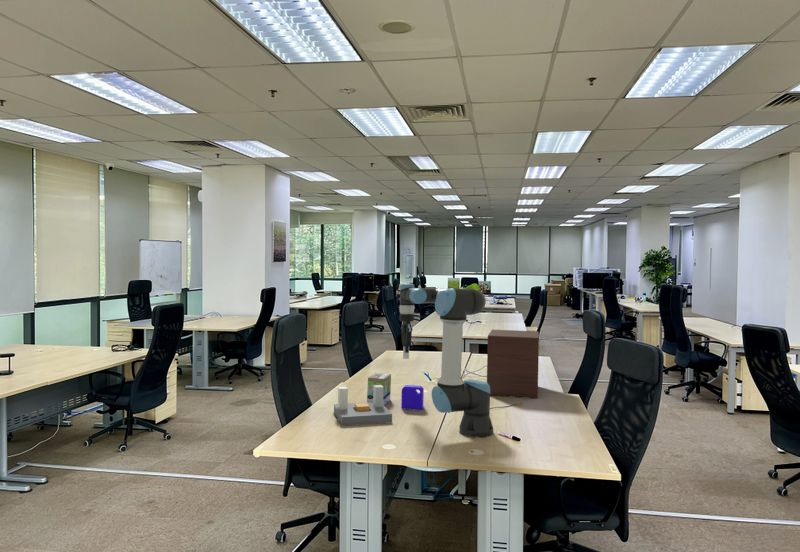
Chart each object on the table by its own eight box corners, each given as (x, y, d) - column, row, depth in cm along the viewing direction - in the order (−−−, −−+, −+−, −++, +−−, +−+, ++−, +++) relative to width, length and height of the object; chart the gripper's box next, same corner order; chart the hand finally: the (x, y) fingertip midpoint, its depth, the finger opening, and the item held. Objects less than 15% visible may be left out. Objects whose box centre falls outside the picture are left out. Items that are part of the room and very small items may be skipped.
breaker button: (369, 416, 257) (369, 406, 257) (357, 417, 256) (357, 406, 256) (366, 413, 263) (366, 403, 263) (354, 413, 261) (355, 403, 261)
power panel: (392, 422, 251) (392, 414, 251) (341, 425, 245) (341, 417, 244) (380, 409, 274) (380, 401, 274) (333, 412, 268) (334, 404, 268)
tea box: (384, 406, 281) (385, 378, 281) (366, 405, 283) (366, 377, 283) (390, 399, 296) (391, 373, 296) (373, 398, 298) (373, 372, 298)
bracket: (421, 410, 275) (422, 387, 274) (401, 408, 277) (401, 386, 277) (427, 402, 292) (427, 380, 292) (407, 400, 294) (408, 379, 294)
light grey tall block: (383, 407, 264) (383, 387, 264) (375, 407, 263) (375, 387, 263) (380, 404, 269) (381, 384, 268) (373, 405, 267) (373, 385, 267)
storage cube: (537, 399, 303) (538, 337, 303) (486, 395, 310) (487, 335, 310) (537, 386, 337) (538, 331, 337) (491, 383, 344) (492, 329, 344)
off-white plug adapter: (347, 409, 259) (347, 388, 259) (339, 409, 258) (339, 389, 258) (345, 406, 264) (346, 386, 264) (337, 406, 263) (338, 386, 262)
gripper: (417, 314, 270) (416, 360, 270) (410, 312, 283) (409, 356, 283) (403, 314, 268) (402, 360, 268) (396, 312, 280) (395, 356, 281)
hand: (406, 358), depth 275 cm, fingers closed
